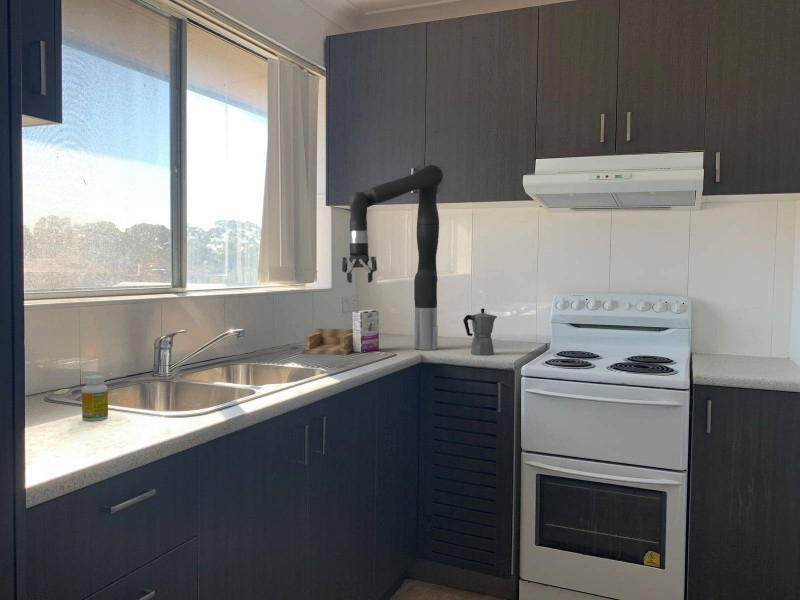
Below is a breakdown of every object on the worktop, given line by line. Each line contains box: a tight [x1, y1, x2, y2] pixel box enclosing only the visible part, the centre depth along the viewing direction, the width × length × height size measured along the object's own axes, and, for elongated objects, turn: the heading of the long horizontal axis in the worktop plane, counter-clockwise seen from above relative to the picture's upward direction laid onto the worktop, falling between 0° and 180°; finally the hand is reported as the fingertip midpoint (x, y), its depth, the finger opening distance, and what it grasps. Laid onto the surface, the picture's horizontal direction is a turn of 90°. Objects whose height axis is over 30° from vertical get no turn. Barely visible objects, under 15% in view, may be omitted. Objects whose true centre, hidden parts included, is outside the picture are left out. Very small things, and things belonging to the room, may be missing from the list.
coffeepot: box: [462, 307, 498, 356], centre depth 263 cm, size 15×9×18 cm, turn 117°
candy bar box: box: [352, 309, 380, 353], centre depth 271 cm, size 11×5×16 cm, turn 143°
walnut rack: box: [301, 327, 353, 356], centre depth 270 cm, size 18×19×8 cm
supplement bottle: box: [81, 374, 109, 422], centre depth 153 cm, size 5×5×10 cm
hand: (359, 282), depth 272 cm, fingers open, 8 cm apart
